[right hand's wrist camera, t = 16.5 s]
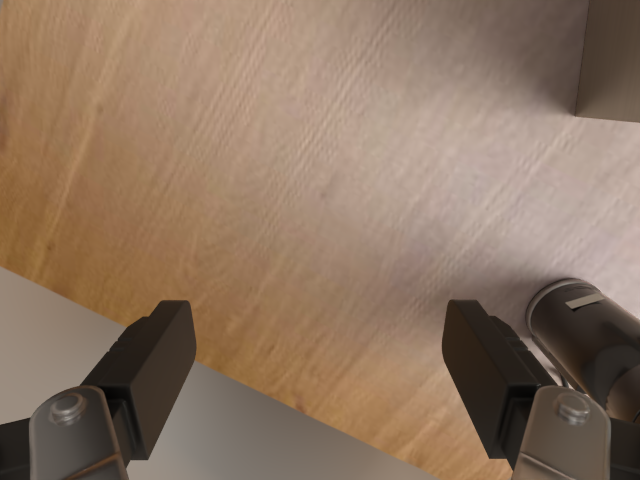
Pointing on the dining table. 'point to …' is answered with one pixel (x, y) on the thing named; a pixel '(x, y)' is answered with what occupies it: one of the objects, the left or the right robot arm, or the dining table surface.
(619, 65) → the box
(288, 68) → the dining table surface
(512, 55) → the dining table surface
